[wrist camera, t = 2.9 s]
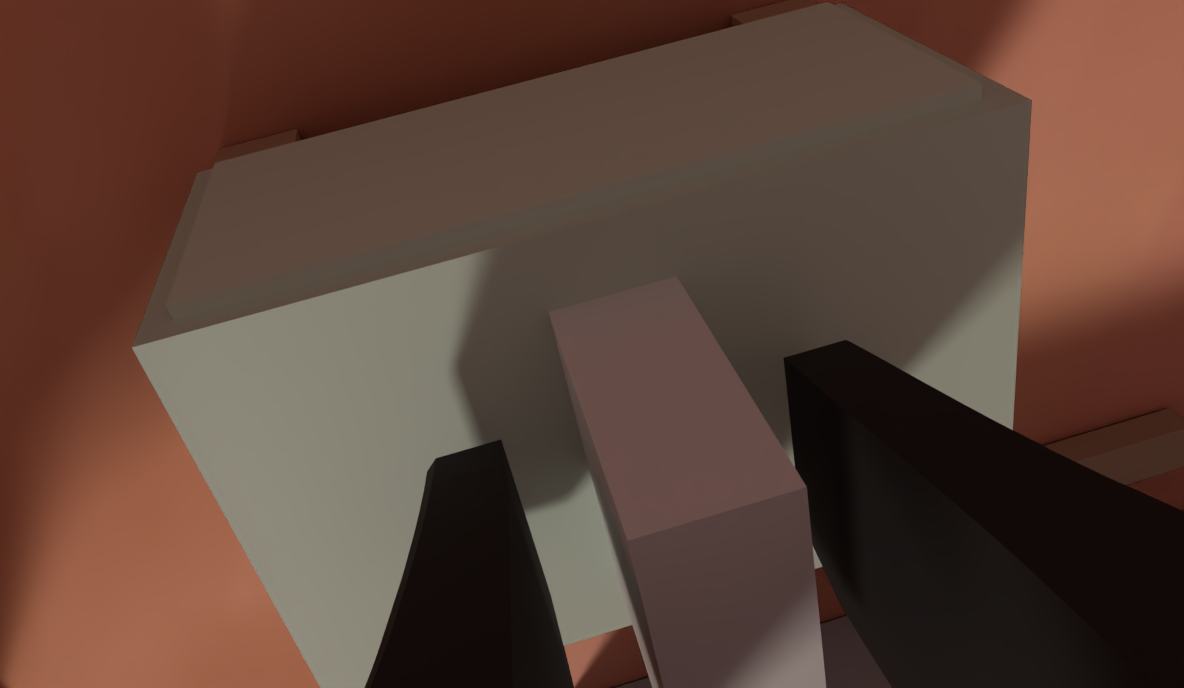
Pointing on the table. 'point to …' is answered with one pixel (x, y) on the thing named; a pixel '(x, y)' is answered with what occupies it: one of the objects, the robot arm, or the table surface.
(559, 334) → the grey block
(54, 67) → the table surface
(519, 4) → the table surface
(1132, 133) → the table surface
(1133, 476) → the wall board
